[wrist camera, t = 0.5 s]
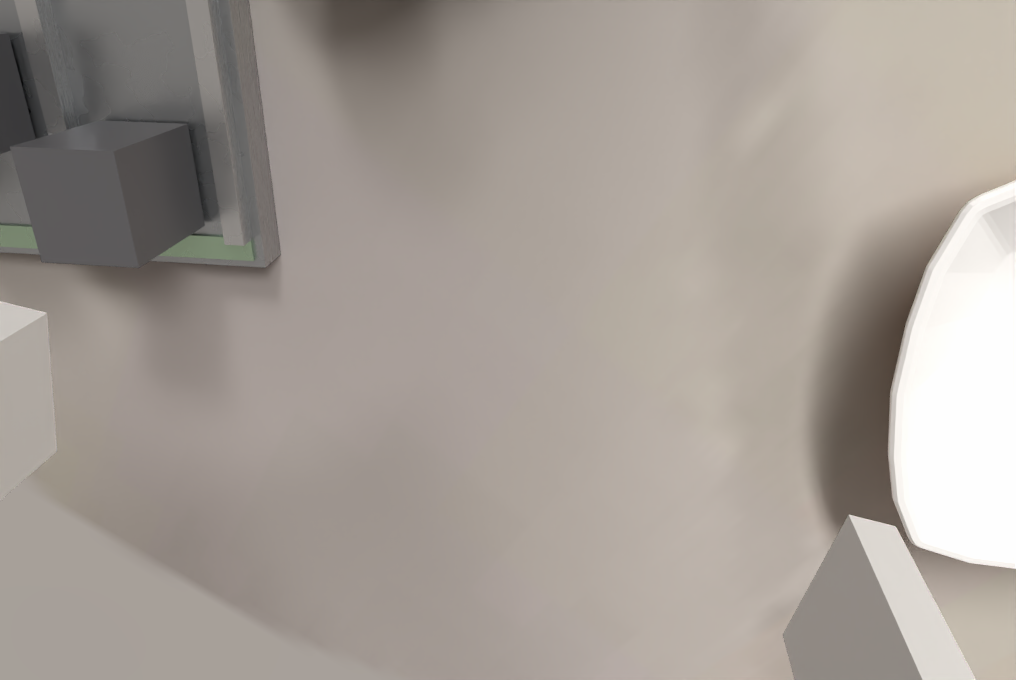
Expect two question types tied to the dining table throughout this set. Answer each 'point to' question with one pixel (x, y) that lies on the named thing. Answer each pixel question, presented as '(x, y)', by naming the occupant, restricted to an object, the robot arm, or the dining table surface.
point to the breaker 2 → (110, 192)
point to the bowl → (961, 392)
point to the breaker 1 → (12, 101)
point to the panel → (152, 106)
